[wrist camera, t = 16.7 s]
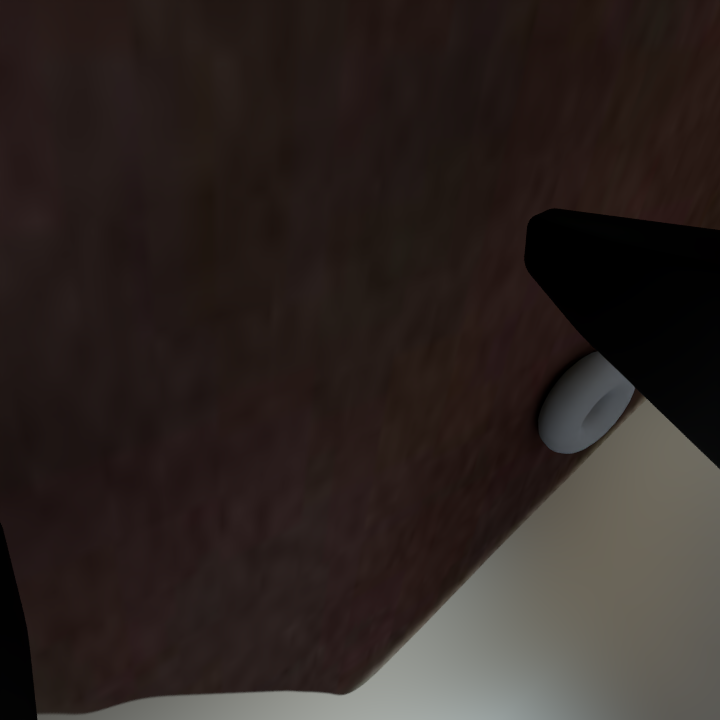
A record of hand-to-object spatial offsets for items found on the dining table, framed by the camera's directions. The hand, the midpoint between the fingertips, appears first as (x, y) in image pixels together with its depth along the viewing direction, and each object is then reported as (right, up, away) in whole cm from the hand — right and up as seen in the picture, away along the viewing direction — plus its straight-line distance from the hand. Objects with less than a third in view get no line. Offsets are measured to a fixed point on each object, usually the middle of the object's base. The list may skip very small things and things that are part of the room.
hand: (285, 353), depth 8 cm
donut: (+19, -3, +38) cm, 42 cm away
